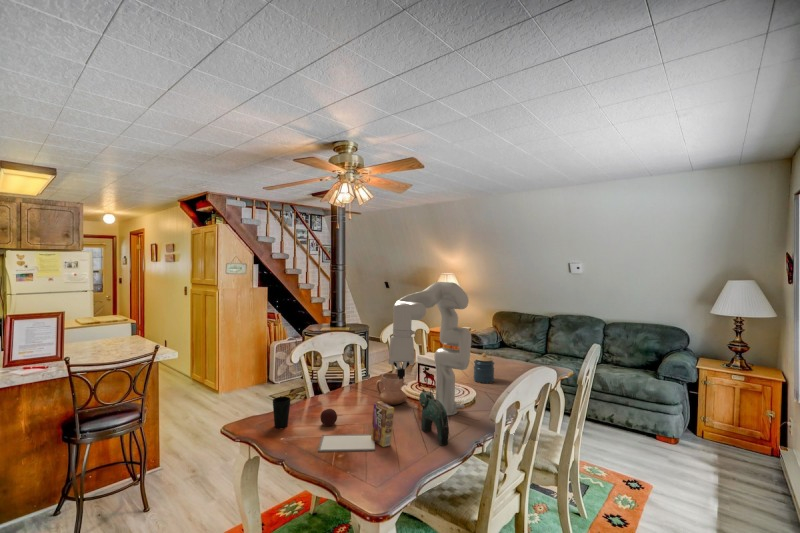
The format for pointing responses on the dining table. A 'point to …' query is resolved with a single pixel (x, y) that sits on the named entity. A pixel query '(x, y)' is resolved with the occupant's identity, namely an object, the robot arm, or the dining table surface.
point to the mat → (346, 443)
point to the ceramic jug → (391, 389)
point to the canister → (484, 369)
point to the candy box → (382, 423)
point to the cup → (281, 411)
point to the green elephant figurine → (434, 416)
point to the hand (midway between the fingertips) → (401, 378)
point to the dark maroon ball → (328, 417)
